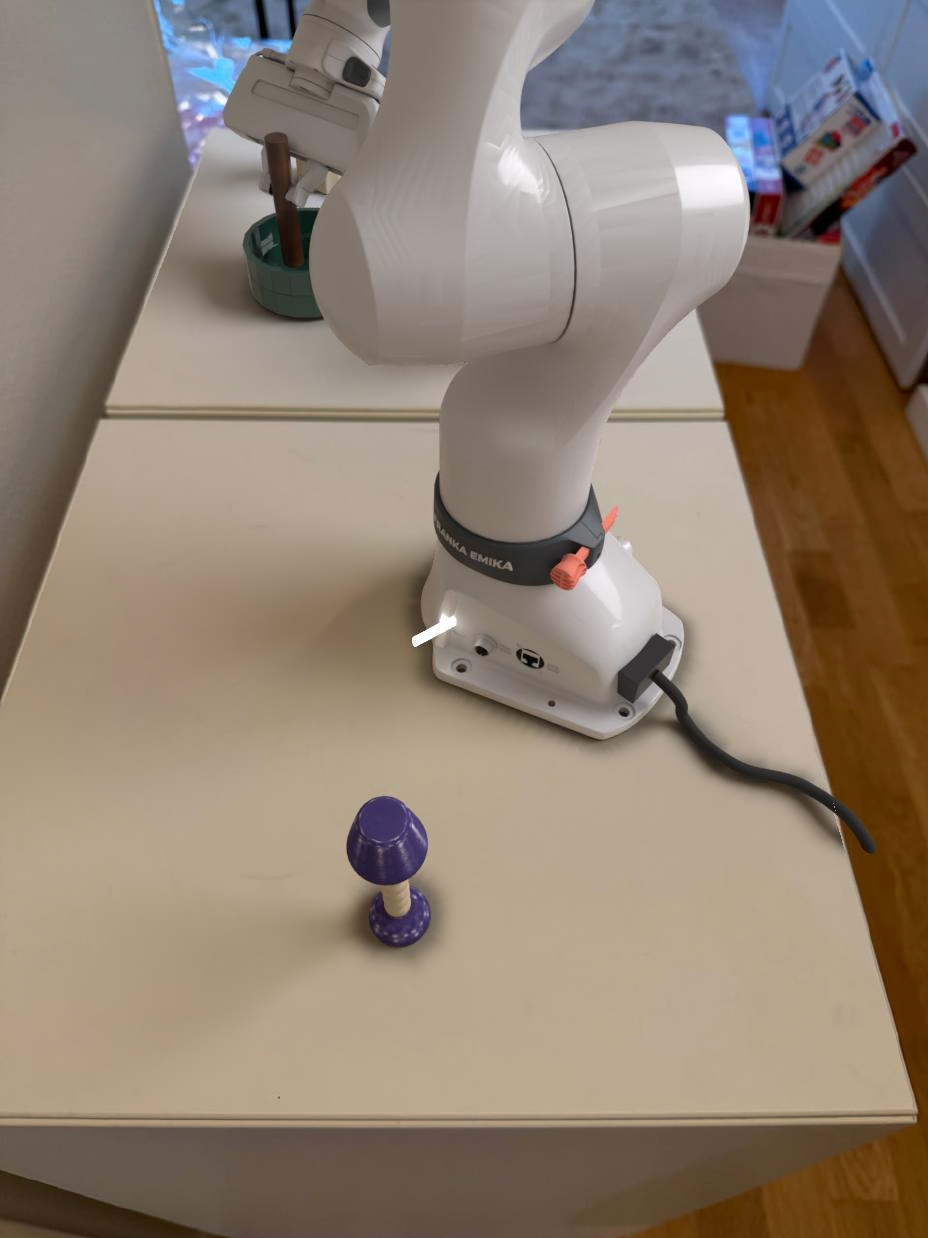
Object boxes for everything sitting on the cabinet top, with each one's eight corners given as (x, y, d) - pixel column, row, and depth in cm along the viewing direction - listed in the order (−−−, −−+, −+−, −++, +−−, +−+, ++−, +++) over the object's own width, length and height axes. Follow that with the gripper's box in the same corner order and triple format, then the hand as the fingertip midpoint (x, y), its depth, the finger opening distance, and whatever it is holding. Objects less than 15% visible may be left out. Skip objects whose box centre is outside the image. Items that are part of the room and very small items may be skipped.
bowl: (391, 280, 108) (389, 232, 103) (317, 336, 101) (310, 288, 97) (304, 242, 113) (298, 194, 108) (227, 294, 106) (217, 246, 101)
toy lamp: (433, 953, 62) (429, 855, 48) (363, 959, 61) (340, 861, 48) (429, 884, 64) (424, 772, 51) (362, 888, 64) (340, 778, 51)
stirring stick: (308, 260, 106) (292, 136, 95) (294, 270, 105) (276, 145, 93) (292, 253, 107) (274, 129, 95) (278, 263, 105) (259, 138, 94)
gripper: (237, 27, 97) (191, 157, 100) (392, 79, 90) (338, 217, 93) (272, 58, 103) (227, 181, 105) (420, 110, 96) (368, 239, 99)
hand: (280, 198), depth 99 cm, fingers closed on stirring stick, 2 cm apart
